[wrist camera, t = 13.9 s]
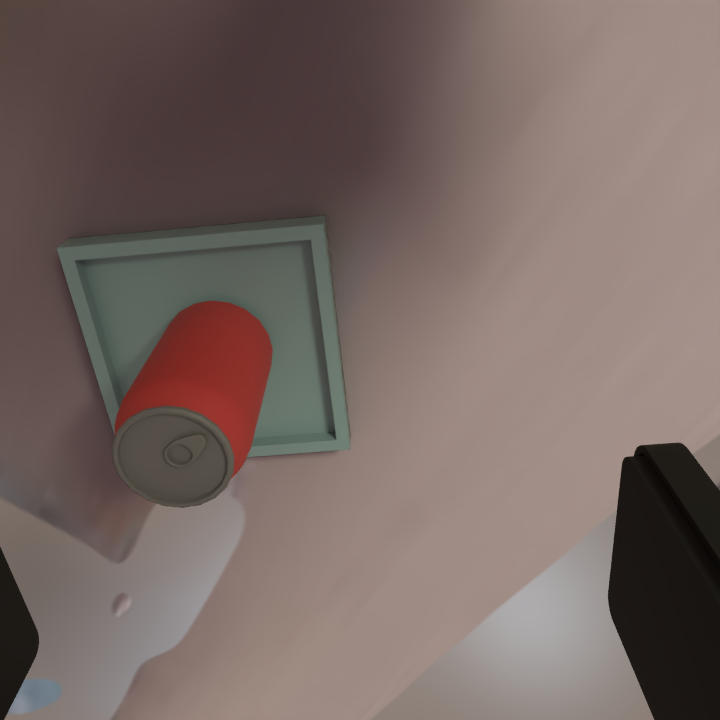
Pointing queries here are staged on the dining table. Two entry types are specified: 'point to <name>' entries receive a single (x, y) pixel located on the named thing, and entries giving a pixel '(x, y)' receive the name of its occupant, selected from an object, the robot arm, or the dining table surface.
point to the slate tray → (225, 284)
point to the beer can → (194, 406)
